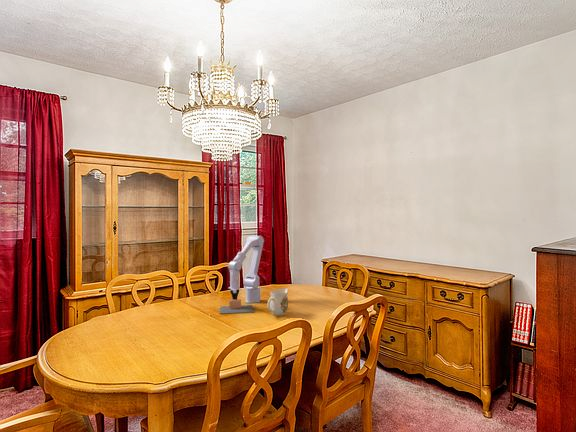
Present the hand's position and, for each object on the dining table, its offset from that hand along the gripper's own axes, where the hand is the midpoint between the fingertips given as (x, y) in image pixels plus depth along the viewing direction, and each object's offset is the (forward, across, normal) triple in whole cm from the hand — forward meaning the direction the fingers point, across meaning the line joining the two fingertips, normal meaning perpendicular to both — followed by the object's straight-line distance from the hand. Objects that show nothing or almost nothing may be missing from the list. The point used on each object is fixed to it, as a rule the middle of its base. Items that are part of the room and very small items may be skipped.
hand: (234, 301), depth 215 cm
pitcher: (+4, +18, +25) cm, 31 cm away
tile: (+3, +3, 0) cm, 5 cm away
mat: (+4, +5, +1) cm, 7 cm away
